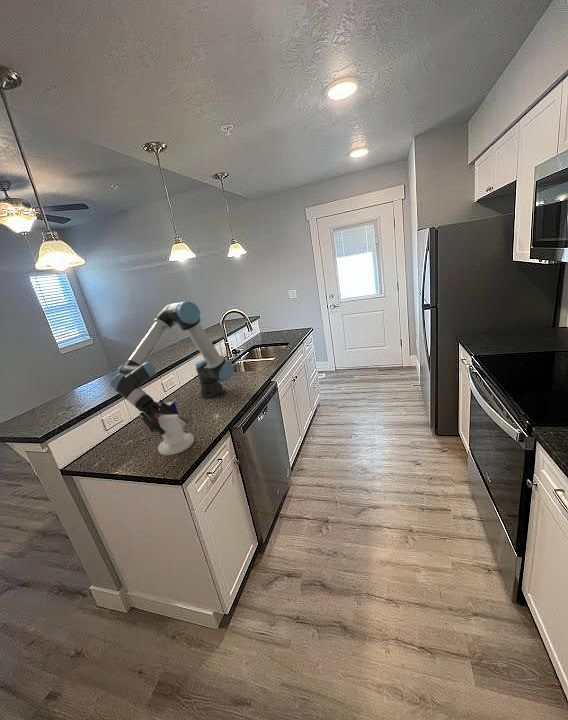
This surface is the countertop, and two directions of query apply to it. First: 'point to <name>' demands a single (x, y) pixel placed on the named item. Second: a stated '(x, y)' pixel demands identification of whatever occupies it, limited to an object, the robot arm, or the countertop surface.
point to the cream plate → (176, 446)
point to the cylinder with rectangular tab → (172, 428)
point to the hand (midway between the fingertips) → (178, 431)
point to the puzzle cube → (163, 414)
